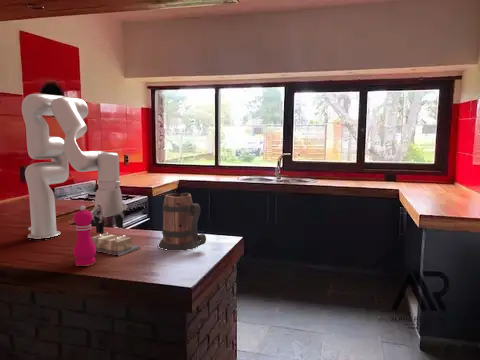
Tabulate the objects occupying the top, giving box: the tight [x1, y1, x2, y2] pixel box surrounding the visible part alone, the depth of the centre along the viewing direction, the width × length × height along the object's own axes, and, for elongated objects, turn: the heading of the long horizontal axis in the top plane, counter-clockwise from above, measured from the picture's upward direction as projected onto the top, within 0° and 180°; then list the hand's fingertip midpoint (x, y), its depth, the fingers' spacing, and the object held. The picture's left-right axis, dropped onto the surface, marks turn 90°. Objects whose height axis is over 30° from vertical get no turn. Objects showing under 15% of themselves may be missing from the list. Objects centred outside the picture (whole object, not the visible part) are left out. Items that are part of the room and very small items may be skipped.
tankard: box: [158, 192, 207, 251], centre depth 154 cm, size 24×17×20 cm
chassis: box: [96, 232, 141, 256], centre depth 151 cm, size 18×11×6 cm, turn 61°
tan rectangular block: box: [91, 233, 133, 251], centre depth 151 cm, size 14×7×4 cm, turn 61°
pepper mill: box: [72, 205, 97, 265], centre depth 133 cm, size 7×7×20 cm
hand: (109, 230), depth 151 cm, fingers open, 9 cm apart
